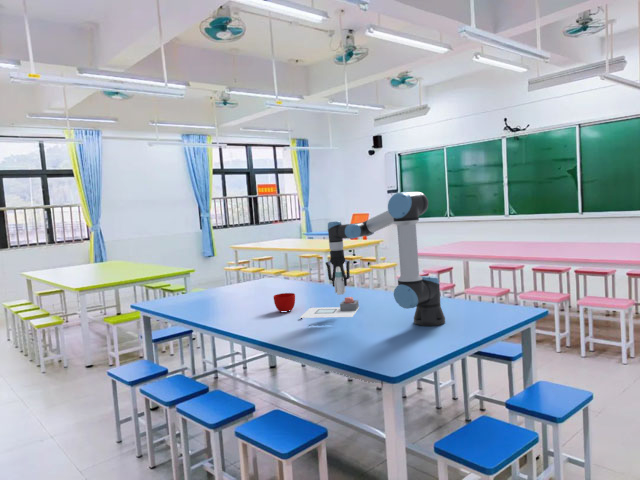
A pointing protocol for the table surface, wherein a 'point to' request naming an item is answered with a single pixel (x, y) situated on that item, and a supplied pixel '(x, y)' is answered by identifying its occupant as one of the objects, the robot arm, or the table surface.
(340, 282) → the marker
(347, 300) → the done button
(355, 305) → the button housing
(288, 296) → the ceramic cup
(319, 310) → the sheet
